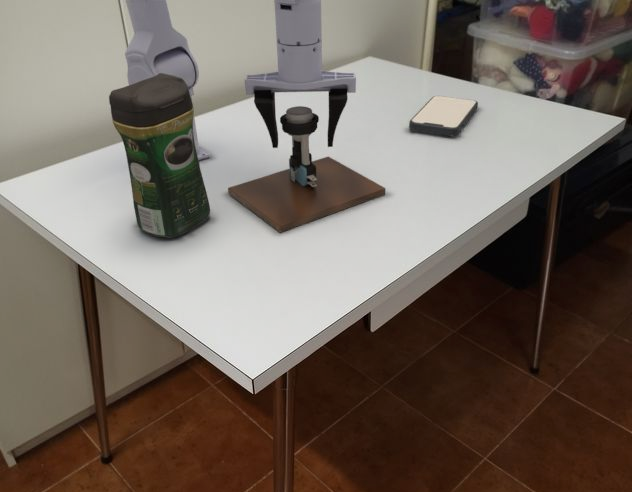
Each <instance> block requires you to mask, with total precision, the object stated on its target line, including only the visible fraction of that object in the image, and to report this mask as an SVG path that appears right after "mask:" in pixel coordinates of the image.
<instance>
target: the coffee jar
mask: <svg viewBox="0 0 632 492" xmlns="http://www.w3.org/2000/svg"><path fill="white" fill-rule="evenodd" d="M191 98H192V97H191V96H190V92H189V89H188V86H187V84H186V83H185V81H184V80H183V79H182V78H179V77H176V76H172V75H168V74H163V73H159V74H158V75H156V76H154V77H151V78H148V79H145V80H142V81H139V82H137V83H134V84H132V85H129V84H128V85H126V86H124V87H119V88H117V89H116V88H115V89H112V91H111V92H110V93H109V95H108V103H109V105H110V114H111V120H112V124H113V127H114V128H115V130H116V131H117V133H118V134H119V136H120V137H121V140H122V143H123V146H124V152H125V156H126V160H127V161H126V162H127V166H128V172H129V179H130V187H131V193H132V202H133V209H134V215H135V219H136V225H137V227H138V228H139V229H140V230H141V231H143V232H144V233H145V234H148V235H150V236H152V237H156V238H168V239H169V238H171V239H172V238H176V237H179V236H181V235H184V234H185V233H187V232H189V231H191V230H192V229H194V228H195V227H198V226H199V225H201V224H202V223H203V222H204V221H206V220H207V219H208V218H209V216H210V215H211V206H210V202H209V201H210V200H209V197H208V192H207V190H206V185H205V181H204V178H203V173H202V169H201V165H200V160H198V156H197V152H196V148H195V142H194V136H193V116H194V117H195V109H194V108H195V107H194V103H193V99H192V100H191Z"/></svg>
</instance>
